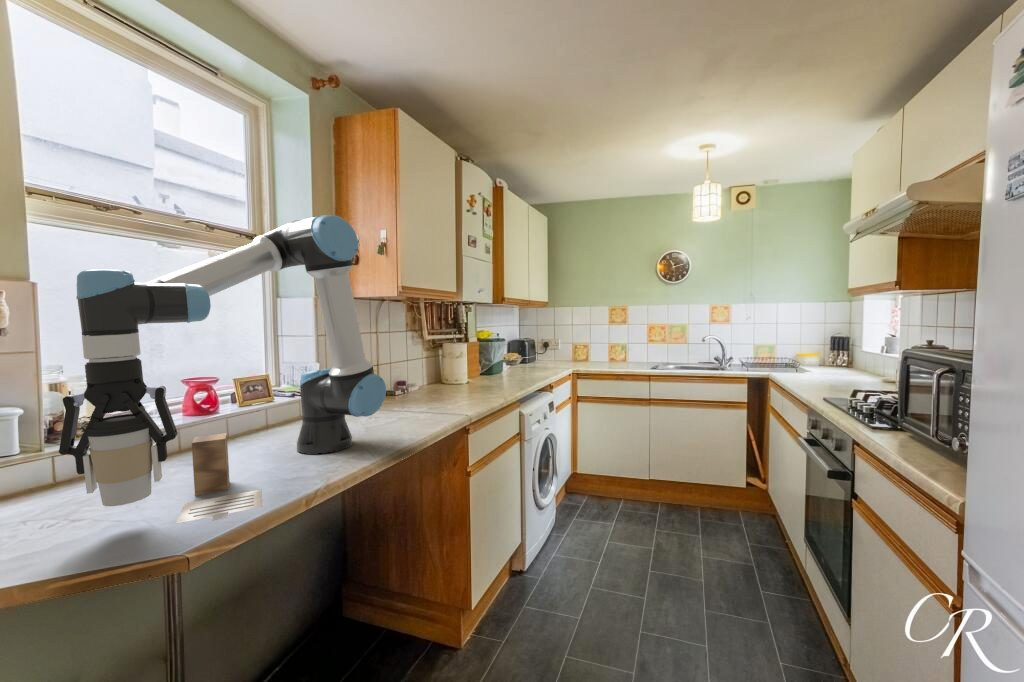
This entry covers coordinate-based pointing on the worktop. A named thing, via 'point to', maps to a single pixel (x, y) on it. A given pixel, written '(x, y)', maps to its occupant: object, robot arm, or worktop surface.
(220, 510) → the cream flat slotted plate
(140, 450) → the coffee cup
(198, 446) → the walnut block
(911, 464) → the worktop surface
